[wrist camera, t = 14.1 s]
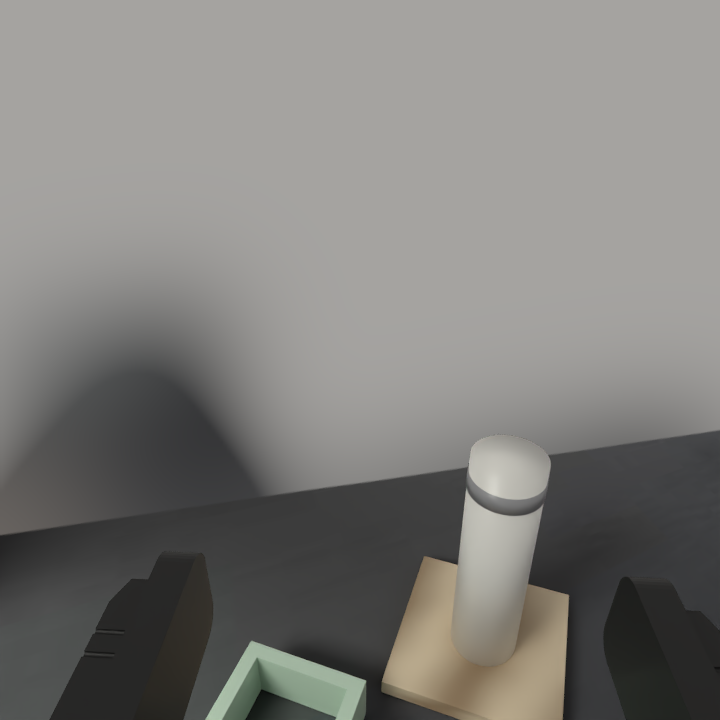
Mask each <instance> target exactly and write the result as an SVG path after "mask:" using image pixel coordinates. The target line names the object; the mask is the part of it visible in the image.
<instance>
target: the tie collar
mask: <svg viewBox="0 0 720 720" xmlns="http://www.w3.org/2000/svg"><path fill="white" fill-rule="evenodd" d="M261 689H262V690H265V691H267V692H270V693H273V694H275V695H278V696H281V697H283V698H286V699H289V700H291V701H294V702H297V703H299V704H302V705H305V706H307V707H310V708H313V709H316V710H318V711H321V712H324V713H326V714H329V715H332V716H334V717H336V720H364V717H365V714H366V680H363V679H360V678H357V677H354V676H351V675H348V674H345V673H343V672H340V671H337V670H334V669H331V668H328V667H325V666H322V665H319V664H317V663H314V662H311V661H308V660H305V659H302V658H299V657H296V656H294V655H291V654H288V653H285V652H282V651H279V650H276V649H273V648H271V647H268V646H265V645H262V644H259V643H256V642H253V641H251V642H250V644H249V646H248V647H247V649H246V651H245V653H244V654H243V656H242V658H241V659H240V661H239V663H238V665H237V666H236V668H235V670H234V671H233V673H232V675H231V677H230V678H229V680H228V682H227V683H226V685H225V687H224V689H223V690H222V692H221V694H220V695H219V697H218V699H217V701H216V702H215V704H214V706H213V708H212V709H211V711H210V713H209V714H208V716H207V718H206V720H245V719H246V717H247V715H248V714H249V712H250V710H251V708H252V706H253V704H254V702H255V700H256V698H257V696H258V694H259V693H260V691H261Z"/></svg>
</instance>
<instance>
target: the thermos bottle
mask: <svg viewBox="0 0 720 720" xmlns="http://www.w3.org/2000/svg"><path fill="white" fill-rule="evenodd" d="M550 468H551V462H550V459H549V456H548V455H547V453H546V452H545V451H544V450H543V449H542V448H541V447H539V446H538V445H537V444H535V443H533V442H531V441H529V440H527V439H524V438H521V437H517V436H512V435H493V436H488V437H485V438H482V439H480V440H478V441H477V442H476V443H475V444H474V445H473V446H472V448H471V452H470V460H469V464H468V469H467V478H466V496H465V505H464V514H463V523H462V532H461V541H460V550H459V559H458V568H457V578H456V587H455V596H454V605H453V614H452V623H451V639H452V642H453V645H454V647H455V648H456V650H457V651H458V652H459V653H460V654H461V656H463V657H464V658H465V659H467V660H468V661H470V662H472V663H474V664H477V665H480V666H486V667H492V666H498V665H501V664H503V663H505V662H506V661H507V660H509V659H510V658H511V656H512V655H513V653H514V650H515V646H516V641H517V636H518V631H519V626H520V621H521V616H522V611H523V605H524V600H525V595H526V590H527V585H528V580H529V575H530V570H531V565H532V560H533V554H534V549H535V544H536V539H537V534H538V529H539V524H540V519H541V514H542V509H543V504H544V502H545V498H546V493H547V488H548V483H549V473H550Z"/></svg>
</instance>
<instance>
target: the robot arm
mask: <svg viewBox="0 0 720 720" xmlns="http://www.w3.org/2000/svg"><path fill="white" fill-rule="evenodd" d="M212 619H213V601H212V595H211V590H210V584H209V579H208V573H207V568H206V562H205V557H204V555H203V554H202V553H191V552H172V551H164V552H162V553H161V555H160V556H159V558H158V560H157V562H156V564H155V566H154V568H153V570H152V573H151V575H150V577H149V579H148V580H145V579H131V580H130V581H129V582H128V583H127V584H126V585H125V586H124V587H123V588H122V589H121V590H120V591H119V592H118V593H117V594H116V595H115V596H114V597H113V598H112V599H111V600H110V601H109V603H108V605H107V607H106V609H105V611H104V613H103V615H102V617H101V619H100V621H99V623H98V625H97V627H96V632H95V634H93V635H92V637H91V639H90V641H89V643H88V645H87V647H86V649H85V653H84V656H83V657H81V659H80V661H79V663H78V665H77V667H76V668H75V670H74V672H73V674H72V676H71V678H70V680H69V682H68V684H67V686H66V688H65V690H64V692H63V694H62V696H61V698H60V700H59V702H58V704H57V706H56V708H55V710H54V712H53V714H52V716H51V718H50V720H183V719H184V716H185V712H186V709H187V706H188V703H189V700H190V696H191V693H192V690H193V687H194V684H195V680H196V677H197V674H198V671H199V668H200V664H201V661H202V658H203V655H204V652H205V648H206V645H207V642H208V639H209V635H210V631H211V626H212ZM604 651H605V656H606V660H607V664H608V667H609V670H610V673H611V676H612V679H613V682H614V685H615V688H616V691H617V694H618V697H619V700H620V703H621V706H622V709H623V712H624V715H625V718H626V720H720V631H719V630H718V629H717V628H716V627H715V626H714V625H713V624H712V623H711V622H710V621H709V620H708V619H707V618H706V617H705V615H704V614H703V613H702V612H701V611H686V610H685V608H684V606H683V604H682V602H681V600H680V598H679V596H678V594H677V592H676V590H675V588H674V586H673V585H672V584H671V582H670V581H668V580H667V579H662V578H643V577H623V578H622V579H621V581H620V583H619V586H618V589H617V592H616V594H615V597H614V600H613V603H612V606H611V609H610V612H609V615H608V618H607V621H606V624H605V627H604Z"/></svg>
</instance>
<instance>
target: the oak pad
mask: <svg viewBox="0 0 720 720" xmlns="http://www.w3.org/2000/svg"><path fill="white" fill-rule="evenodd" d="M457 568H458V565H456V564H452V563H448V562H444V561H441V560H437V559H433V558H430V557H426V556H424V558H423V561H422V564H421V567H420V570H419V573H418V576H417V579H416V582H415V585H414V588H413V591H412V594H411V597H410V600H409V602H408V605H407V608H406V611H405V614H404V617H403V620H402V623H401V626H400V629H399V632H398V635H397V638H396V641H395V644H394V647H393V650H392V653H391V656H390V658H389V661H388V664H387V667H386V670H385V673H384V676H383V679H382V687H381V692H383V693H385V694H388V695H391V696H394V697H397V698H400V699H403V700H405V701H408V702H411V703H414V704H417V705H420V706H423V707H425V708H428V709H431V710H434V711H437V712H440V713H443V714H445V715H448V716H451V717H454V718H457V719H460V720H563V703H564V683H565V664H566V644H567V624H568V605H569V595H567V594H563V593H559V592H556V591H552V590H548V589H545V588H541V587H537V586H534V585H530V584H528V585H527V590H526V595H525V600H524V605H523V611H522V616H521V621H520V626H519V631H518V636H517V641H516V646H515V650H514V653H513V655H512V656H511V658H510V659H509V660H507V661H506V662H505V663H503V664H501V665H498V666H492V667H486V666H480V665H477V664H474V663H472V662H470V661H468V660H467V659H465V658H464V657H463V656H461V654H460V653H459V652H458V651H457V650H456V648H455V647H454V645H453V642H452V639H451V623H452V614H453V605H454V596H455V587H456V578H457Z"/></svg>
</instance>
